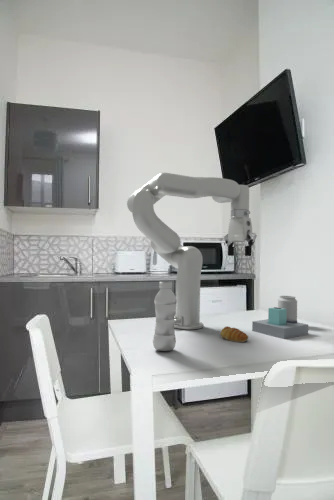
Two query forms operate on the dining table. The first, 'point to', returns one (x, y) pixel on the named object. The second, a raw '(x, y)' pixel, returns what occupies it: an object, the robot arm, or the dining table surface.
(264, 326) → the grey recessed tray
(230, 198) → the robot arm
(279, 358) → the dining table surface
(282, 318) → the block
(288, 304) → the can
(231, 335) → the pastry
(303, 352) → the dining table surface
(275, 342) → the dining table surface
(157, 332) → the plastic bottle
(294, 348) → the dining table surface
